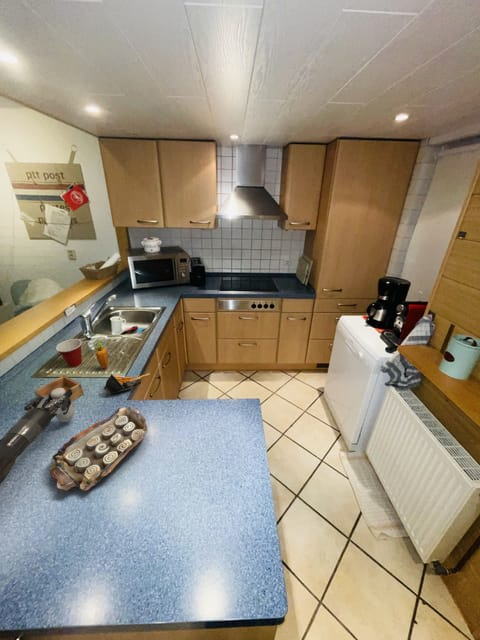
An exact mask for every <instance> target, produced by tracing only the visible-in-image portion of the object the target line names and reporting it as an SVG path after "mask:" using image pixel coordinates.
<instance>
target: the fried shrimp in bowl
mask: <svg viewBox="0 0 480 640" xmlns="http://www.w3.org/2000/svg"><path fill="white" fill-rule="evenodd" d="M149 376H151V372H146V373H144V374H142V375H140V376H137V377H134V375H132V376H121V377H120V375H113V374H112V373H111V374H110V376H109V377H108V378H107V380H106V382H105V385H104V390H105V391H106V392H107V393H108V394H109V395H112V394H118V393H120V392H122V391H127V390H130V389H133V386H134V385H136V382H137V381H138V380H141V379H144V378H147V377H149Z"/></svg>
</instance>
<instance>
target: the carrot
mask: <svg viewBox="0 0 480 640" xmlns="http://www.w3.org/2000/svg"><path fill="white" fill-rule="evenodd" d="M93 349H97V350H95V356H96V360H97V362H98V364H99V366H100V367H101V368H102V369H103V370H107V368H108V365H109V356H108V352H107V351H108V350H107V349H106V348H103V343H101V342H99V341H97V346H93Z"/></svg>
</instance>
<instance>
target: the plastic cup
mask: <svg viewBox="0 0 480 640" xmlns="http://www.w3.org/2000/svg"><path fill="white" fill-rule="evenodd" d="M82 343H83V342H82V340H81V339H79V338H69V339H67V340H63V341H61V342H60V343H58V344H57V345H56V346H55V349H56V351H57V352H58V353H60V355H61V357H63V360H64V361H65V363H66V364H67V365H68V368H76V367H79V366H81V365H82V363H83V357H82Z"/></svg>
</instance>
